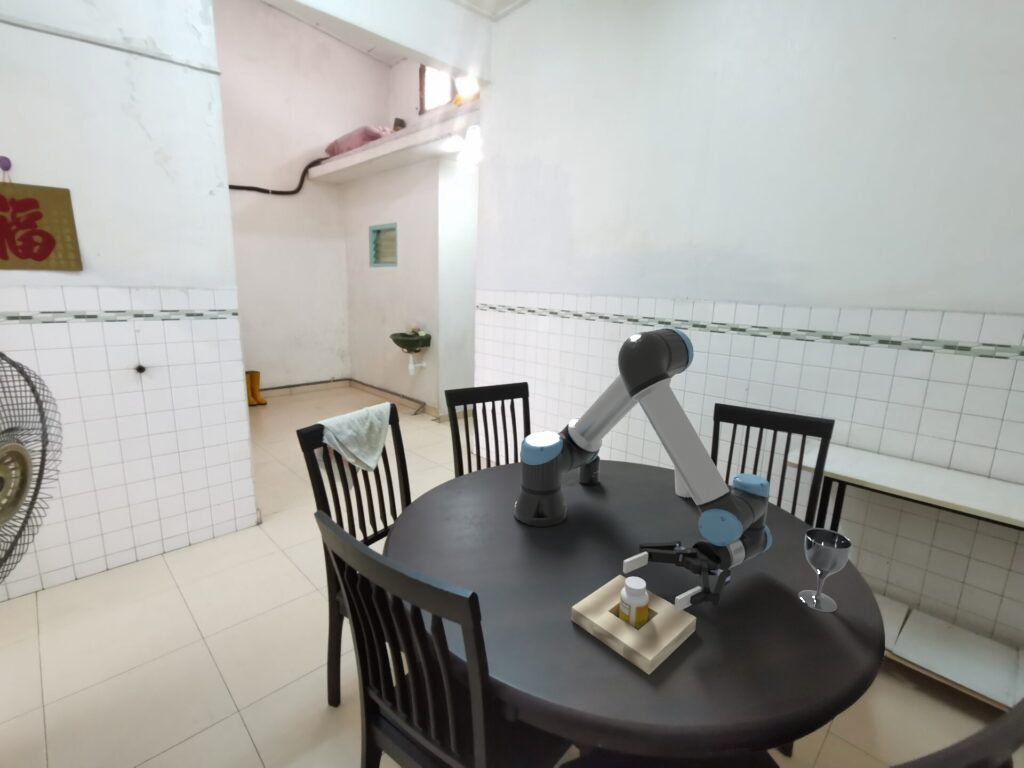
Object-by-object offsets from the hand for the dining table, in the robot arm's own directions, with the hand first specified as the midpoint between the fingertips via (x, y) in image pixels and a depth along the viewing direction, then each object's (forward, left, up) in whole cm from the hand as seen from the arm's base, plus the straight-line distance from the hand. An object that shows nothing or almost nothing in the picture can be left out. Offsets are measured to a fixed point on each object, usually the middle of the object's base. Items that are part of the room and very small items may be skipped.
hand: (648, 584), depth 94 cm
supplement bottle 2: (-1, -3, -8) cm, 9 cm away
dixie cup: (-24, +59, -8) cm, 64 cm away
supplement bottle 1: (-50, +43, -8) cm, 66 cm away
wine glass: (+21, +33, -8) cm, 40 cm away
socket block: (-1, -3, -8) cm, 9 cm away
